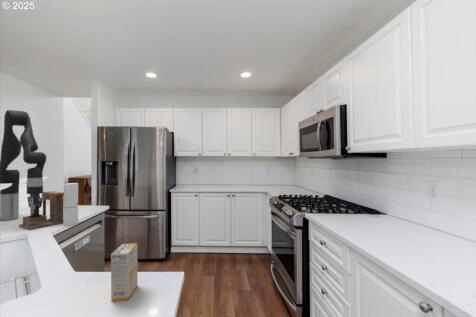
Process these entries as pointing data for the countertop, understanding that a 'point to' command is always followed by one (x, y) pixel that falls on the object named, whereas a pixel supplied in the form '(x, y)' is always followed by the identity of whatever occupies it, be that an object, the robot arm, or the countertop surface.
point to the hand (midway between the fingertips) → (34, 214)
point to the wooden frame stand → (42, 220)
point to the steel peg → (32, 210)
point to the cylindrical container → (70, 204)
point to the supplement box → (123, 272)
